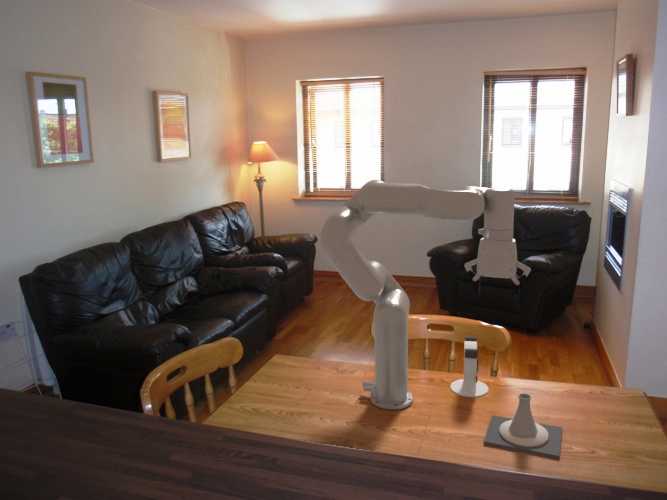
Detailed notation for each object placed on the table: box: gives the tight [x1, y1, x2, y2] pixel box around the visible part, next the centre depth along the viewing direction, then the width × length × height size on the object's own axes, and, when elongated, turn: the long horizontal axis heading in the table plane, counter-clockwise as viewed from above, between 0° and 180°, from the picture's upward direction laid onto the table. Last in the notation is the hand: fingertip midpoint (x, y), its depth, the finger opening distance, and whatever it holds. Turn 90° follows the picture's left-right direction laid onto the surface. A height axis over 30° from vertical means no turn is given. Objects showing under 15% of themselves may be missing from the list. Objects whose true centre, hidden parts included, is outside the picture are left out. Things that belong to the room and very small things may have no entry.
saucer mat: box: [483, 414, 563, 460], centre depth 149 cm, size 18×14×2 cm
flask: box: [509, 392, 538, 438], centre depth 148 cm, size 7×7×10 cm
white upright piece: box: [449, 336, 489, 398], centre depth 174 cm, size 12×11×15 cm
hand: (495, 295), depth 157 cm, fingers open, 9 cm apart
